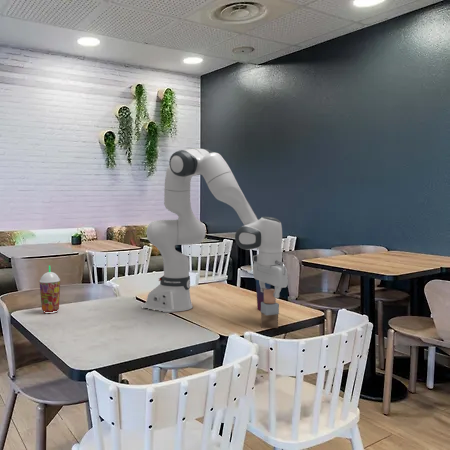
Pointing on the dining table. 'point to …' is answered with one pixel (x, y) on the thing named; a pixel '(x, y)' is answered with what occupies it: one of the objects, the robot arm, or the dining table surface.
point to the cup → (260, 294)
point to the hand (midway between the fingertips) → (269, 294)
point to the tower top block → (269, 308)
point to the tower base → (269, 321)
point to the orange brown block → (269, 296)
